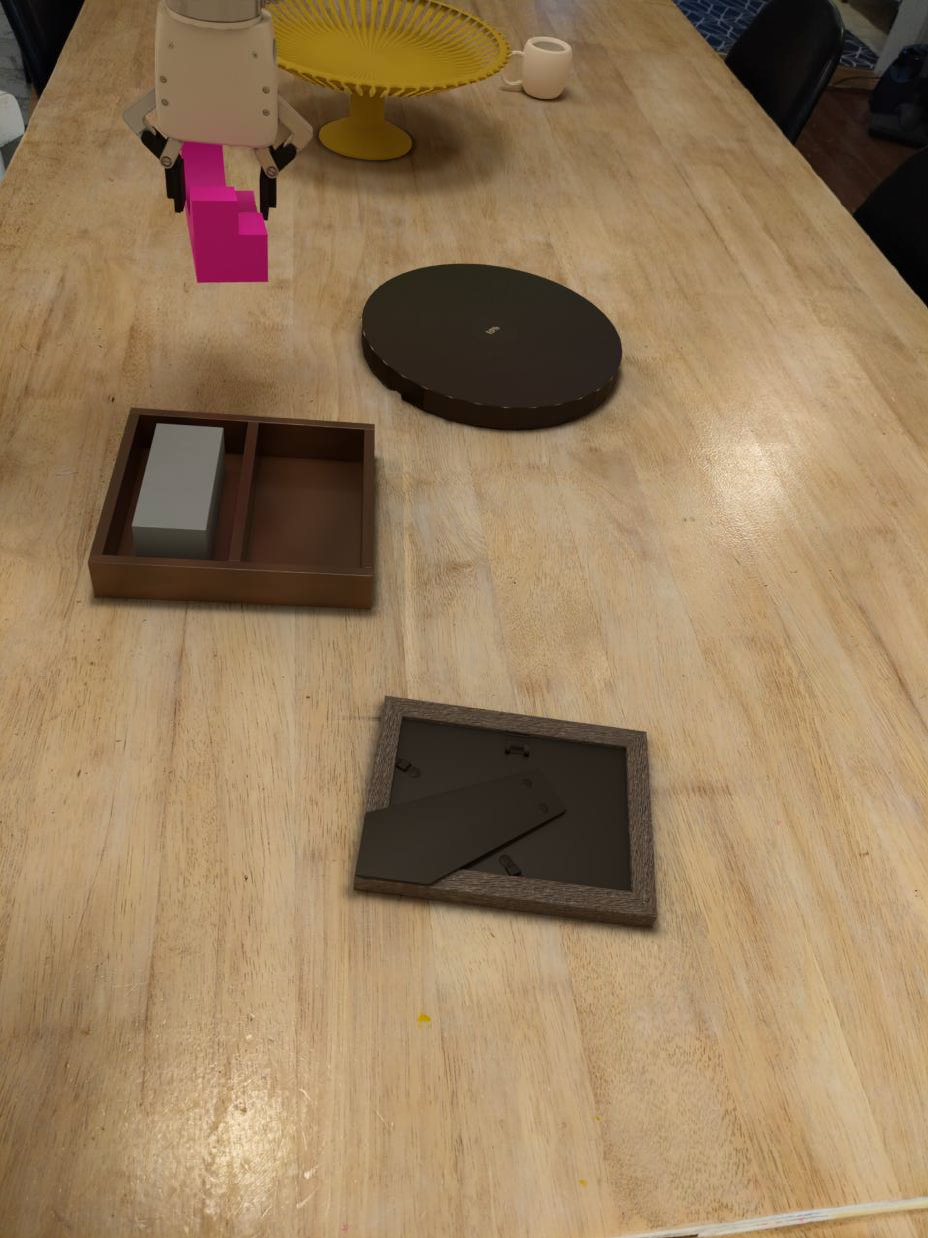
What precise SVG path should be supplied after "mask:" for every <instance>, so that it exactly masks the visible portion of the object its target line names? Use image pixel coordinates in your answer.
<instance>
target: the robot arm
mask: <svg viewBox="0 0 928 1238" xmlns="http://www.w3.org/2000/svg"><path fill="white" fill-rule="evenodd" d="M280 1H281V0H160V1H159V2H158V4H157V9H156V10H157V12H156V23H155V37H154V42H155V43H154V83H153V84H152V85H151V86H150V87H148V88H147V89H146V90H145V91H143V92H142V93H141V94H140V95H139V96H138V97H136V98H135V99H134V100H133V101H132V102H130V103H129V104H128V105H127V106H126V107H124V109H123V112H122V115H121V117H122V120H123V122H124V123H125V124H126V125H127V126H128V127H129V129H130V130H131V131H132V132H133V133H134V134H135V135H136V136H137V137H138V138H139V139H140V141H141V144H142V145H144V147H145V148H147V150H148V151H149V152H150V153H151V154H152V155H153V156H155V158H156V159H157V160H158V161H159V165H160V166H161V167H163V169H164V178H165V189H166V191H165V192H166V197H167V199H169V200H173V207H174V213H176V214H181V213H182V212H183V213H184V211H185V202H186V184H185V170H184V159H183V158H182V157H181V152H180V150H181V148H182V146H183V144H184V142H185V141H187V142H197V143H206V144H217V145H223V146H226V147H227V146H229V147H238V148H249V149H250V148H251V149H252V150H253V152H254V154H255V157H256V158H257V160H258V162H259V164H260V171H259V180H258V181H259V182H258V185H259V212H262V215H263V218H264V222H265V221H266V222H268V221H269V216H270V208H271V209H277V200H278V198H277V197H278V196H277V195H278V193H277V192H278V189H277V188H278V187H277V184H278V183H277V182H278V180H277V179H278V176H279V173H280V172H282V170H284V169H285V168H286V167H287V166H288V165H289V164H290V163H292V162H293V161H294V160H295V159H296V157H297V155H298V154H299V153H300V152H301V151H302V150H304V148H305V147H307V145H308V144H309V143H310V142H311V141H312V140H313V138H314V137H313V136H314V128H313V127H312V125H311V124H310V123H309V122H308V121H307V120H306V119H305V118H304V117H303V116H301V114H300V113H299V112H297V110H295V109H294V107H292V106H291V105H290V104H289V103H288V101H286V100H285V99H284V98H283V96H282V95H280V79H279V67H278V59H277V48H276V40H275V33H274V27H273V22H274V21H273V19H272V17H271V14H270V13H269V12H268V11H266V10H264V9H262V8H265V7H266V5H267V6H269V5H270V3H272V4H274V5H277V4H280ZM153 110H155V112H156V120H157V121H156V122H157V126H158V129H159V130H158V129H157V128H156V127H155V126H154V125H151V123H150V122H149V120H148V119H147V118H146V116H147V115H148V114H150V113H151V112H152V111H153ZM280 122H281V123H282V124H283V126H285V127H286V128H287V129H288V130H289V131H290V132H291V135H290V136H289V137H288V138H287V139H285V140H284V141H283V142H282V143H281V144H280V145H279V146H278V147H275V142H276V141H277V137H278V136H277V135H278V127H279V125H280Z"/></svg>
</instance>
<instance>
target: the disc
mask: <svg viewBox="0 0 928 1238" xmlns="http://www.w3.org/2000/svg"><path fill="white" fill-rule="evenodd" d="M360 321H361V338H360V339H361V346H362V353H363V356H364V359H365V361H366V362H367V364H368V366H369V368H370V370H371V371H372V372H373V373H374V375H375V376H376V377H377V379H379V380H380V382H382V384H383V385H385V386H386V387H387V388H389V389H390V390H391V391H392V392H397V393H398V394H399V395H400V397H401V398H402V399H404V400H405V401H408V402H409V403H411V404H413V405H415V406H416V407H419V408H420V409H422V410H424V411H427V412H430V413H431V414H432V413H433V414H435V415H437V416H440V417H442V418H445V419H448V420H452V421H457V422H461V423H465V424H469V425H473V426H479V427H489V428H495V429H516V430H517V429H521V430H522V429H526V430H527V429H529V430H530V429H536V428H537V429H538V428H544V427H553V426H556V425H560V424H564V423H567V422H571V421H574V420H576V419H578V418H581V417H582V416H584V415H587V414H589V413H591V412H592V411H594V410H595V409H596V408H597V407H599V406H601V404H602V403H603V402H605V401H606V399H607V398H608V397H609V395H610V394H611V392H612V390H613V389H614V387H615V383H616V380H617V376H618V372H619V368H620V367H621V363H622V358H623V353H624V352H623V345H622V339H621V336H620V335H619V333H618V330H617V329H616V326H615V325H614V323H612V321H611V319H610V318H609V317H608V316H607V315H606V314H605V312H604V311H602V310H601V309H600V308H598V307H597V306H596V305H595V304H594V303H593V302H592V301H590V300H589V299H587V298H586V297H585V296H583V295H581V294H579V293H578V292H576V291H575V290H573V289H571V288H570V287H567V286H565V285H562V284H560V283H559V282H556V281H554V280H552V279H549V278H546V277H543V276H541V275H538V274H534V273H531V272H528V271H524V270H520V269H516V268H511V267H507V266H501V265H500V266H499V265H493V264H485V263H460V262H459V263H445V264H444V263H443V264H434V265H429V266H424V267H419V268H418V267H417V268H414V269H412V270H408V271H405V272H403V273H399V274H397V275H395V276H393V277H392V278H390V279H388V280H386V281H384V282H382V283H381V285H379V286H378V287H377V288H376V289H374V290H373V292H371V293H370V295H369V297H368V298H367V299H366V301H365V303H364V304H363V309H362V314H361V319H360Z"/></svg>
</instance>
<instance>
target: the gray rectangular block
mask: <svg viewBox="0 0 928 1238" xmlns="http://www.w3.org/2000/svg"><path fill="white" fill-rule="evenodd" d="M225 472H226V463H225V446H224V429H223V428H219V427H204V426H189V425H174V424H159V423H157V425H156V429H155V433H154V437H153V441H152V445H151V449H150V454H149V458H148V462H147V466H146V470H145V474H144V478H143V482H142V486H141V490H140V494H139V498H138V502H137V507H136V511H135V515H134V519H133V523H132V531H133V538H134V544H135V551H136V557H154V558H174V559H194V560H211V558H212V552H213V546H214V540H215V534H216V528H217V521H218V515H219V509H220V503H221V497H222V491H223V484H224V478H225Z"/></svg>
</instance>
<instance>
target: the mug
mask: <svg viewBox="0 0 928 1238" xmlns="http://www.w3.org/2000/svg"><path fill="white" fill-rule="evenodd" d="M510 51H511V52H513V53H512V54H510V55H509V56H511V57H513V56H518V57H521V60H520V79H518V80H516V81H509V80H508V79H507V78H506V74H505V68H506V67H504V68H502V69H501V70H503V71H501V72H499V77H500V80H501V82H502V83H503V84H504V85H505V86H508V87H513V88H514V87H518V86H519V85H522V88H523V90H524V92H525V93H526V94H527V95H529V96H530V97H533V98H537V99H541V100H553V99H557V98H558V97H559V96H560V95H561V94H562V93H563V91H564V90H565V88H566V85H567V83H568V80H569V78H570V74H571V70H572V64H573V48H572V46H571V45H570V44H568V43H567V42H566V41H563V40H562V39H559V38H556V37H551V36H534V37H531V38H528V39H527V41H526V43H525V44H524V47H523V50H522V51H521V50H518V49H517V50H510ZM505 65H506V66H507V64H505Z"/></svg>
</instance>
